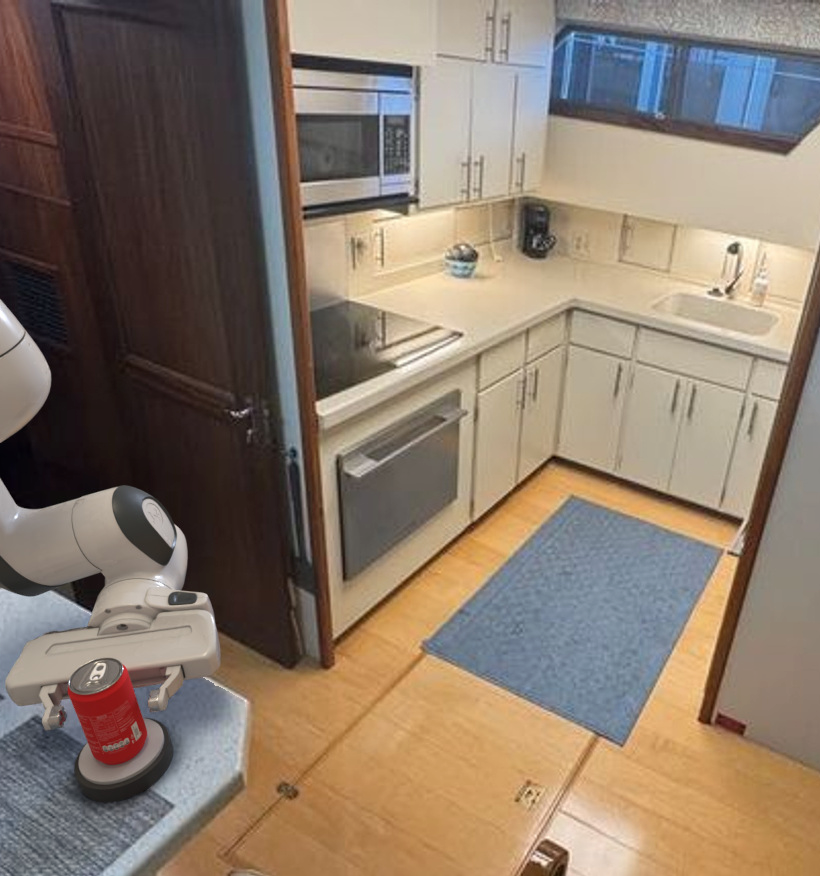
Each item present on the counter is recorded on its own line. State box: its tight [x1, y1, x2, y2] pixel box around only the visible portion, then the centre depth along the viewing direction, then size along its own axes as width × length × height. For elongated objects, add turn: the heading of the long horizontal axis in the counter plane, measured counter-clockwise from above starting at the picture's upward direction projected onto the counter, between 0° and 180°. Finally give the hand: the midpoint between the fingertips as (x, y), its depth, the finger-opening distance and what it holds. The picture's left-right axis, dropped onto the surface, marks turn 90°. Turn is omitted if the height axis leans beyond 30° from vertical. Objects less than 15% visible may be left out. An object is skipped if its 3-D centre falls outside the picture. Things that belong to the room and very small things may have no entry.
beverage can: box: [68, 658, 147, 765], centre depth 75 cm, size 5×5×12 cm
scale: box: [73, 717, 174, 803], centre depth 78 cm, size 9×9×3 cm
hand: (105, 716), depth 73 cm, fingers open, 8 cm apart
